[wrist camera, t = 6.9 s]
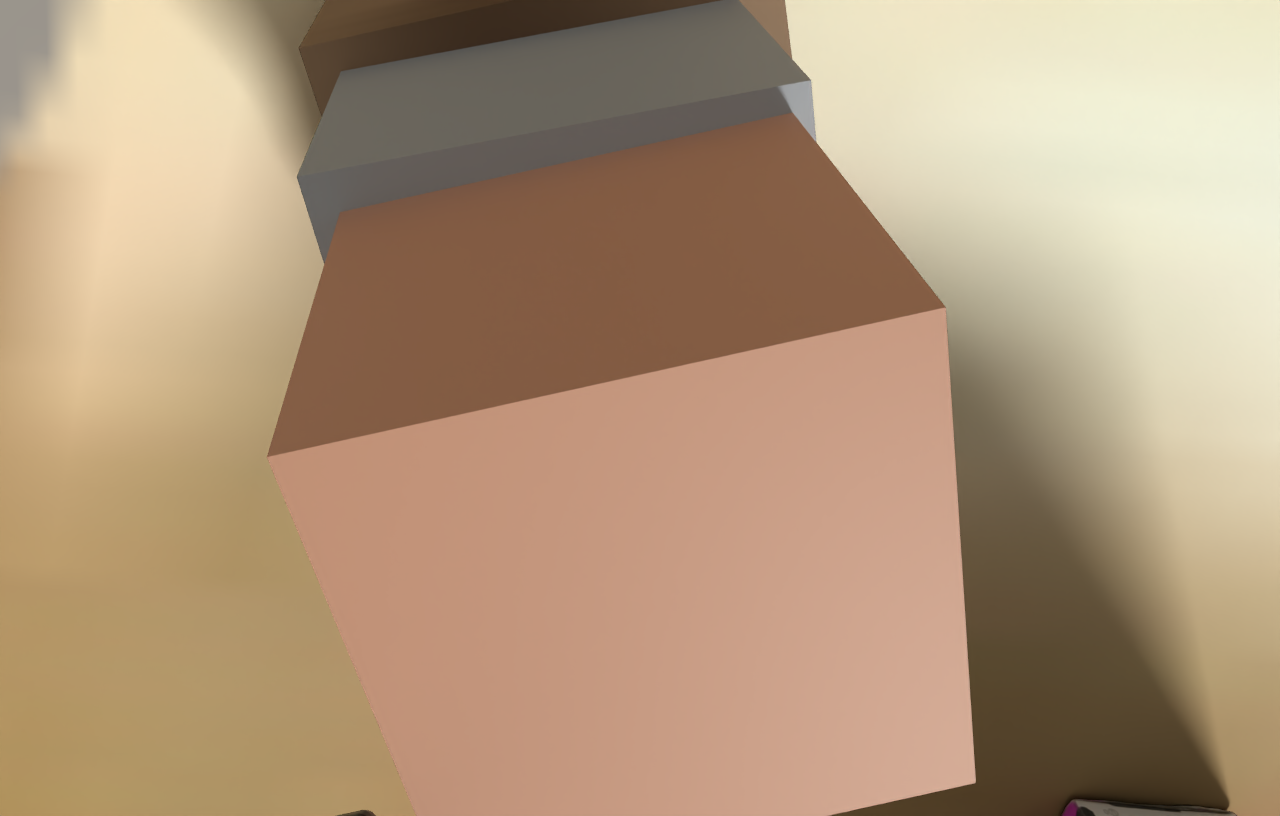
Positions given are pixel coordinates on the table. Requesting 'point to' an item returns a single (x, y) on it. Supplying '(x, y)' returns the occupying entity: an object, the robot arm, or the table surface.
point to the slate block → (543, 104)
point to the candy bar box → (1136, 809)
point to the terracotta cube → (638, 488)
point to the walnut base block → (466, 28)
